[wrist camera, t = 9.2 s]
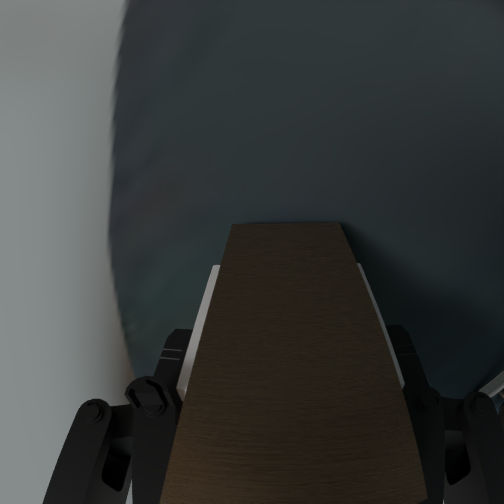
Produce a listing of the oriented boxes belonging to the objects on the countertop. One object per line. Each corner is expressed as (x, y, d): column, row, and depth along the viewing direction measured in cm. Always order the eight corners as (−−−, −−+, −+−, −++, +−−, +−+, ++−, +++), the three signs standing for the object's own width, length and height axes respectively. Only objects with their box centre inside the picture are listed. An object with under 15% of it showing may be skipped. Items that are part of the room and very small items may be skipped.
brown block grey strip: (232, 224, 14) (158, 507, 4) (339, 222, 14) (427, 498, 3) (256, 448, 26) (248, 550, 16) (304, 448, 26) (304, 550, 16)
